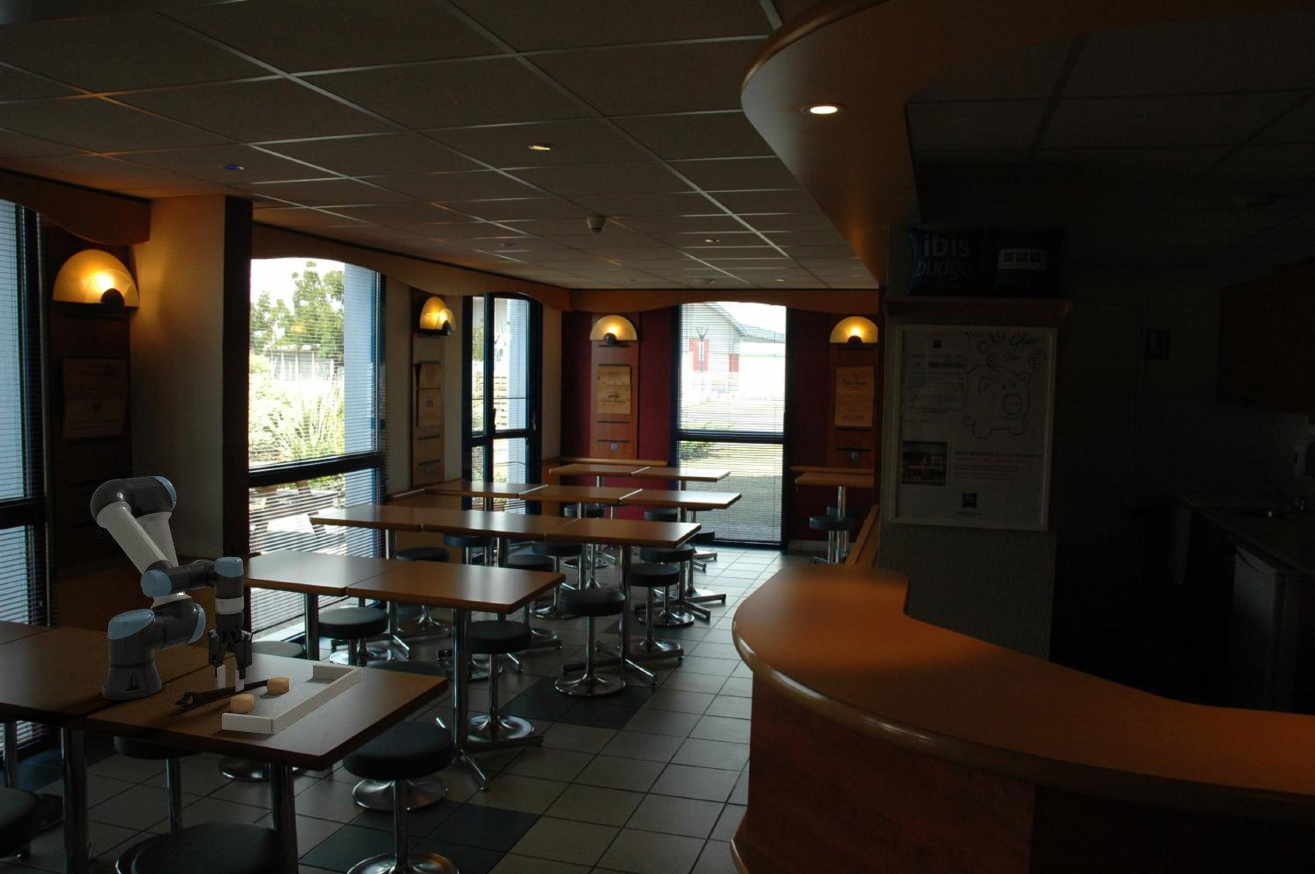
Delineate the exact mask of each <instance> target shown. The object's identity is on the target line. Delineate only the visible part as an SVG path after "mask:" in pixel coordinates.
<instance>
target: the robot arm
mask: <svg viewBox="0 0 1315 874" xmlns="http://www.w3.org/2000/svg"><path fill="white" fill-rule="evenodd" d="M93 492H94V493H93V494H92V496H91V499H90V513H91V516H92V517H93V519H94V520H95V522H96V523H97V524H98V526H99V527H101V528H104V529H106V530H107V531H108V533H109V534H110V535H111V536H112V538H113V539H114V540H115V541H116V543H117V544H118V545H119V546H120V548H121V549H122V551H123V552H124V553H125V554H126V556H127V557H128V558H129V559H130V560H131V562H132V563H133V565H134V566H135V567H136V569H138V571H139V572H140V573H141V574H142V575H141V577H140V587H141V588H142V589H141V590H142V593H143V594H144V595H145V597H148V598H153V600H154V601H153V603H152V605H151V607H150V608H139V609H132V610H128V611H125V612H122V613H119V614H117V615H116V616H113V617H112V618H111V619H110V621H109V622H108V629H107V634H106V635H107V642H108V644H107V645H108V647H107V648H108V671H107V673H106V676H105V680H104V683H103V686H102V691H101V692H102V694H101V695H103V696H102V698H104V699H107V700H111V701H127V700H135V699H140V698H145V697H149V696H151V695H152V696H153V695H154V694H156V693H158V692H160V690H161V689H162V679H161V677H160V676H159V672H158V670H157V666H156V664H155V652H159V651H164V650H167V649H172V648H175V647H179V646H185V645H188V644H190V643H195V642H196V641H198V640H199V639H200V638H201V637H202V635H203V634H204V630H205V628H206V613H205V610H204V608H203V607H202V606H201V605H200V604H198V603H194V601H193V597H192V596H190V595H188V594H186V592H189V591H195V590H200V589H204V588H210V589H214V599H215V600H214V603H215V605H214V608H215V609H214V610H215V611H216V612H215V614H214V616H215V618H214V619H215V621H214V624H215V626H216V627H215V629H211V630H209V631H206V636H207V638H208V653H207V654H208V657H207V658H208V660H207V661H208V665H211V666H213V667H214V678H216V679H217V680H216V682H217V685H216V686H217V688H216V689H222V688H227V684H226V682H227V681H226V673H227V672H226V670H227V669H226V665H225V662H224V660H225V656H226V652H227V648H228V644H230V647H231V648H232V650H233V654H234V657H235V661H236V666H237V667H236V668H235V669H234V670H235V671H234V674H235V686H236V692H238V691H240V690H242V689H244V684H245V680H246V678H247V671H246V670H247V668H249V667H250V666H252V665H253V649H252V640H253V636H254V633H253V632H252V631H251V632H249V631H246V630H245V628H244V623H245V612H244V608H245V601H244V600H245V599H244V582H245V581H244V573H245V570H244V563H243V562H244V561H243V559H242V558H240V557H237V556H233V557H232V556H226V557H224V556H223V557H220V558H217V559H215V560H214V561H212V560H209V559H198V560H194V561H192V563H190V564H185V565H184V564H183V565H179V562H178V558H177V554H176V550H175V549H176V548H175V545H174V540H173V535H172V532H171V527H170V524H169V519H170V518H171V516H172V510H174V508H175V507H176V505H177V502H176V501H177V493H176V490H175V487H174V486H173V484H172V483H171V481H169V479H167V478H166V477H163V476H160V475H159V476H154V475H153V476H151V475H147V476H139V477H138V476H137V477H129V478H114V479H110V480H108V481H105V482H103V483H102V484H101V485H99V486H98V487H97V488H96V489H95V491H93Z"/></svg>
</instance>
